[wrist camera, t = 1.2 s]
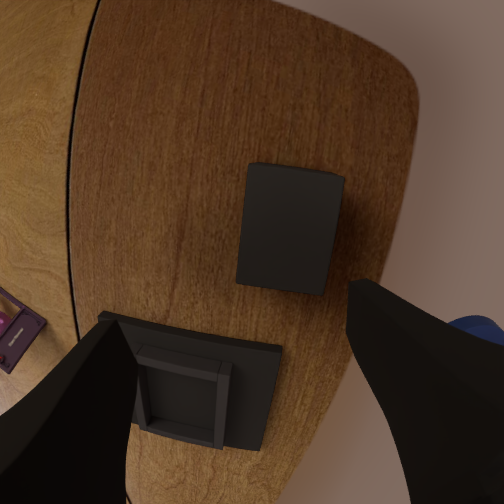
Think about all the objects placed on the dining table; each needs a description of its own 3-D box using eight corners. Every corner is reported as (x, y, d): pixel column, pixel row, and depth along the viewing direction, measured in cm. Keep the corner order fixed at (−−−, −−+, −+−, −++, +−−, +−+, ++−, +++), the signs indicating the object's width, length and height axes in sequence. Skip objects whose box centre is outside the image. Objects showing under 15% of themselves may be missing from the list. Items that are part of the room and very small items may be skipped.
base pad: (282, 345, 21) (281, 366, 19) (260, 443, 25) (257, 464, 22) (103, 310, 22) (87, 325, 20) (121, 411, 26) (111, 428, 23)
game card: (5, 369, 18) (-50, 317, 18) (23, 392, 21) (-31, 345, 21) (44, 315, 23) (-12, 275, 23) (55, 344, 26) (1, 305, 26)
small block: (333, 172, 17) (345, 177, 13) (316, 269, 19) (323, 296, 15) (256, 161, 18) (248, 163, 14) (245, 258, 19) (235, 284, 16)
